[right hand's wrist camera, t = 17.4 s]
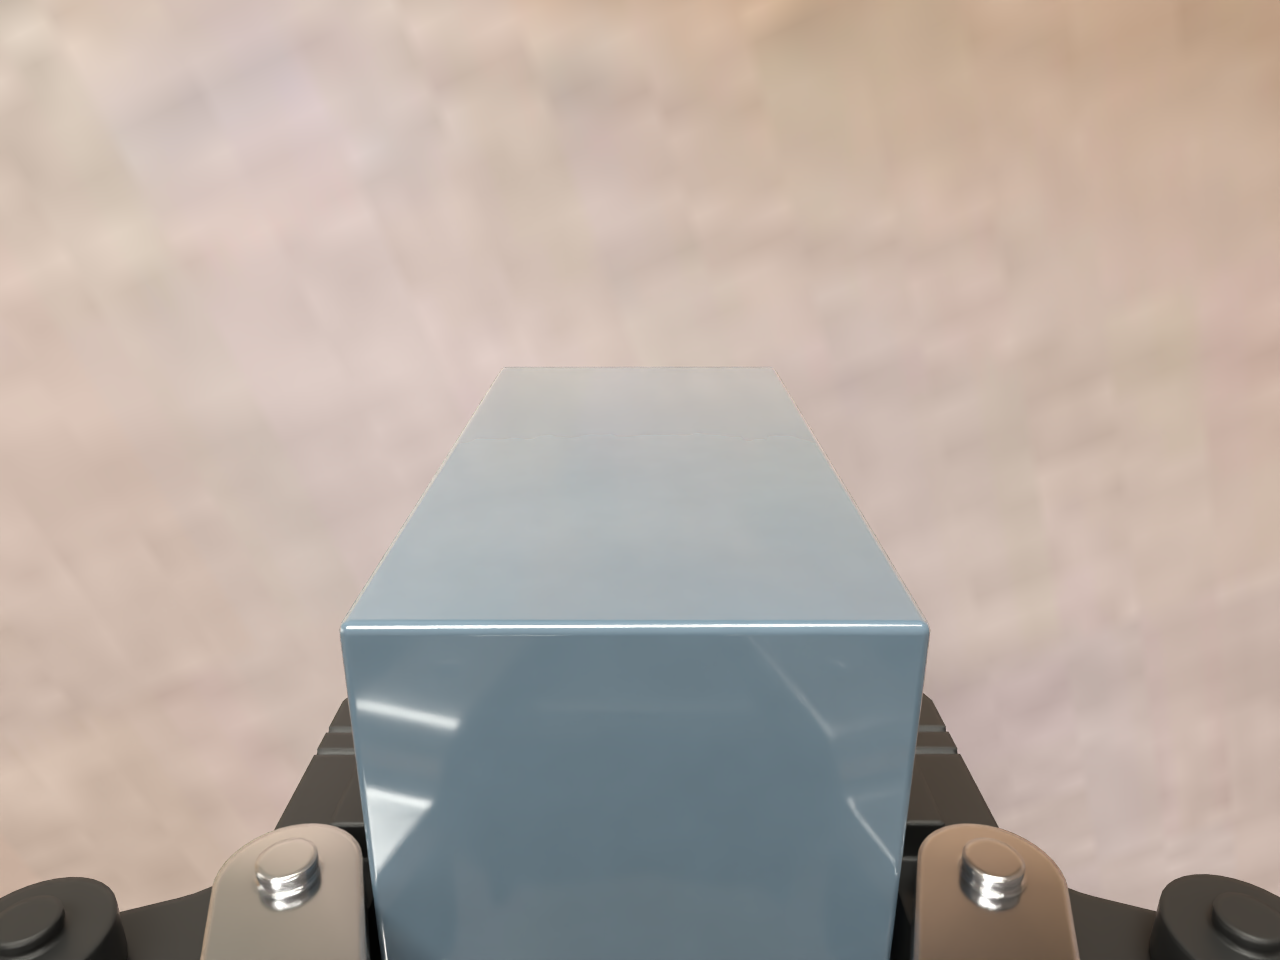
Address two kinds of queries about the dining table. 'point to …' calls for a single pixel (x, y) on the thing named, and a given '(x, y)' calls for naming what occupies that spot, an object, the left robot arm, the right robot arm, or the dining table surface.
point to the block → (635, 684)
